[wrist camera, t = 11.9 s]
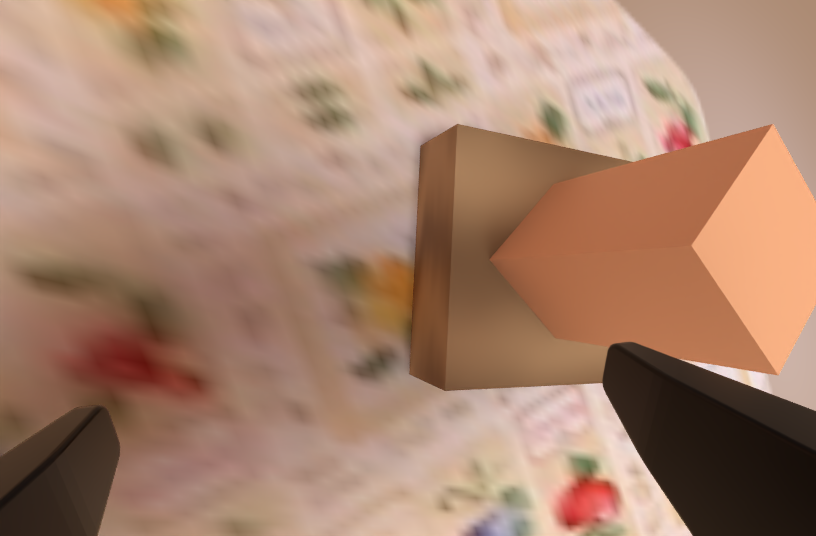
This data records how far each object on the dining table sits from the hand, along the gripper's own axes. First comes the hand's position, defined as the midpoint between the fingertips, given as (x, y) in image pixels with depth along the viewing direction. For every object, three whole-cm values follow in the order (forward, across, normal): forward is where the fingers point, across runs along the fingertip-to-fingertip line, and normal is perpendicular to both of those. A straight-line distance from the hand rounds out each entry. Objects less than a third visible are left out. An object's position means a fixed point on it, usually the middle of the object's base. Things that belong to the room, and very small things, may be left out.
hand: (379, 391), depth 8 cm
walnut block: (+15, -8, +5) cm, 18 cm away
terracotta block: (+11, -9, +3) cm, 15 cm away
